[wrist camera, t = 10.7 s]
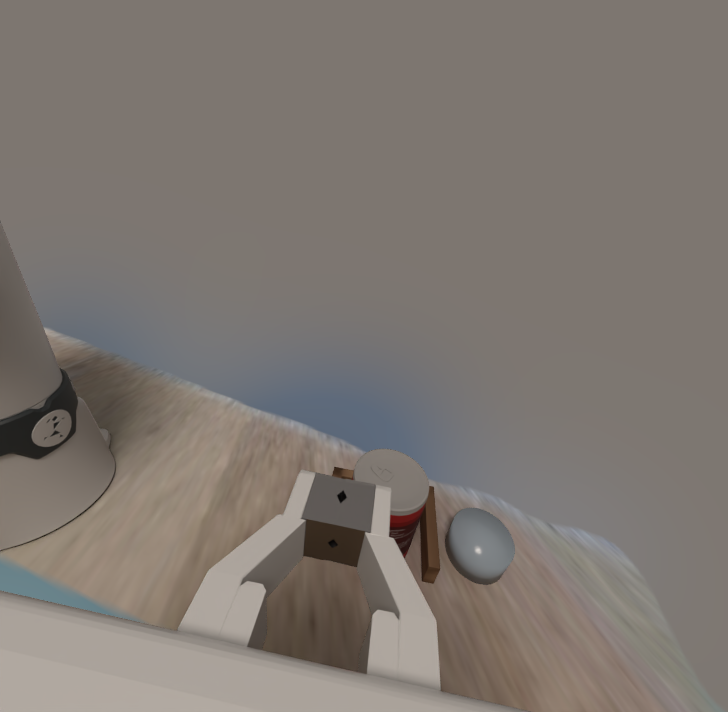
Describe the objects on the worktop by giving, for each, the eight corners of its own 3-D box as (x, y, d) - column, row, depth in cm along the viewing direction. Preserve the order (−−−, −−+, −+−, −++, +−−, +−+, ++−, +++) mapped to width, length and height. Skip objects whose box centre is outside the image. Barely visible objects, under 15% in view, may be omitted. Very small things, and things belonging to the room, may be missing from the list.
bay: (312, 557, 35) (314, 542, 33) (332, 481, 44) (334, 466, 42) (433, 583, 34) (440, 568, 33) (428, 501, 43) (433, 486, 41)
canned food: (355, 499, 42) (367, 439, 36) (413, 523, 40) (435, 463, 34) (331, 555, 35) (341, 491, 30) (399, 586, 33) (423, 524, 28)
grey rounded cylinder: (447, 577, 35) (456, 560, 33) (442, 519, 41) (449, 502, 39) (510, 591, 35) (522, 575, 33) (496, 530, 41) (505, 514, 39)
